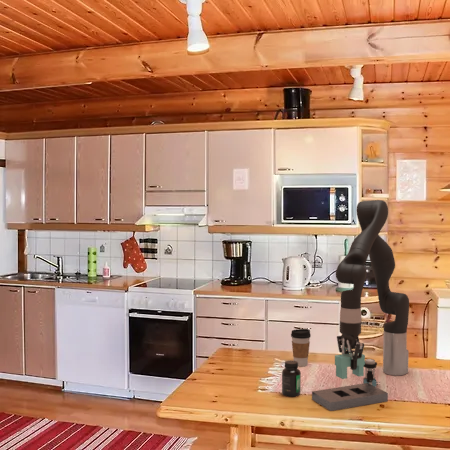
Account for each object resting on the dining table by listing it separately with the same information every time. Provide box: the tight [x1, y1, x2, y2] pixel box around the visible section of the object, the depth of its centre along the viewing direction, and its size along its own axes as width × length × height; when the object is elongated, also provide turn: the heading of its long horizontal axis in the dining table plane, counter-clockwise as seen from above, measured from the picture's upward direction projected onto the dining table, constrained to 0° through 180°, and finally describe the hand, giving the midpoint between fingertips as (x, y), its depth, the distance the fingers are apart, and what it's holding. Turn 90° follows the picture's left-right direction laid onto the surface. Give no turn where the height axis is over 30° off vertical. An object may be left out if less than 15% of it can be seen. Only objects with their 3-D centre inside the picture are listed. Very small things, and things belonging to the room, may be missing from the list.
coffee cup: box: [290, 328, 311, 367], centre depth 252 cm, size 8×8×15 cm
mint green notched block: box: [334, 352, 366, 380], centre depth 208 cm, size 10×4×8 cm, turn 113°
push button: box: [362, 358, 381, 387], centre depth 224 cm, size 7×5×10 cm
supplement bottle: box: [281, 360, 302, 398], centre depth 215 cm, size 7×7×12 cm
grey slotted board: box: [311, 383, 389, 412], centre depth 209 cm, size 24×12×3 cm, turn 113°
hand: (349, 367), depth 208 cm, fingers closed on mint green notched block, 4 cm apart
